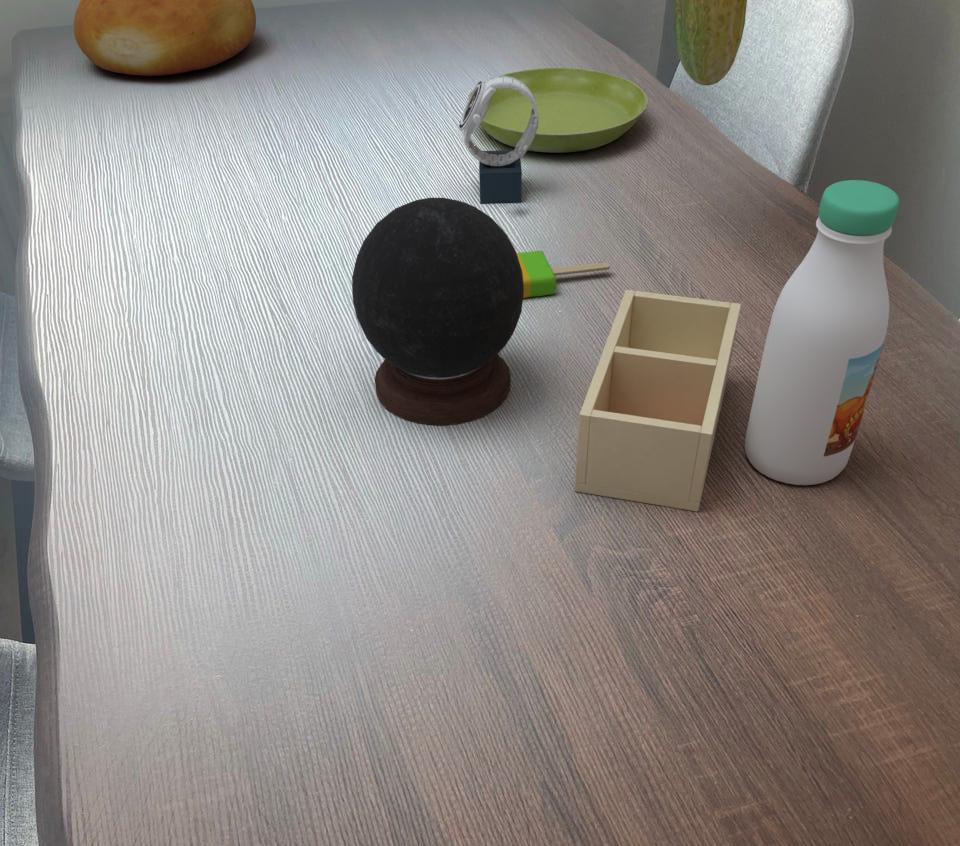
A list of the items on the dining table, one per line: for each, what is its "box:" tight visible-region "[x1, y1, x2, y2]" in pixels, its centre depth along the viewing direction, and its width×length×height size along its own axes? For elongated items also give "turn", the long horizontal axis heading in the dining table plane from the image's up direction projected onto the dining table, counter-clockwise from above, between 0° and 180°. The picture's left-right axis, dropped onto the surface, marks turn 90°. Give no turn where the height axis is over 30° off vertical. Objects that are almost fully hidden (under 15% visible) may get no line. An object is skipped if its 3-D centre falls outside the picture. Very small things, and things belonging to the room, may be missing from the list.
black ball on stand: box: [351, 197, 524, 426], centre depth 79 cm, size 13×13×15 cm
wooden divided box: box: [574, 289, 742, 513], centre depth 77 cm, size 9×17×7 cm, turn 164°
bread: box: [73, 0, 257, 77], centre depth 135 cm, size 23×23×10 cm
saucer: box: [466, 67, 648, 154], centre depth 119 cm, size 21×21×3 cm
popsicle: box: [516, 250, 611, 299], centre depth 95 cm, size 6×15×2 cm, turn 101°
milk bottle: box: [744, 179, 900, 486], centre depth 70 cm, size 8×8×20 cm
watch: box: [458, 75, 539, 204], centre depth 105 cm, size 6×8×11 cm
